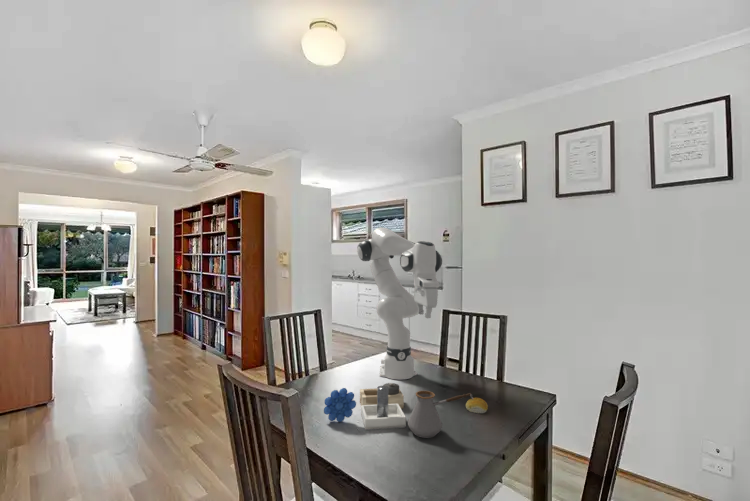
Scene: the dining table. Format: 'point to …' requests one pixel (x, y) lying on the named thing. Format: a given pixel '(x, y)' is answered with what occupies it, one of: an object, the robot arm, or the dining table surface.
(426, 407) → the coffee pot
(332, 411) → the blue lobed round piece
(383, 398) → the pin
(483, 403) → the bread roll
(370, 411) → the tray
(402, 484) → the dining table surface
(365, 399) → the plate
